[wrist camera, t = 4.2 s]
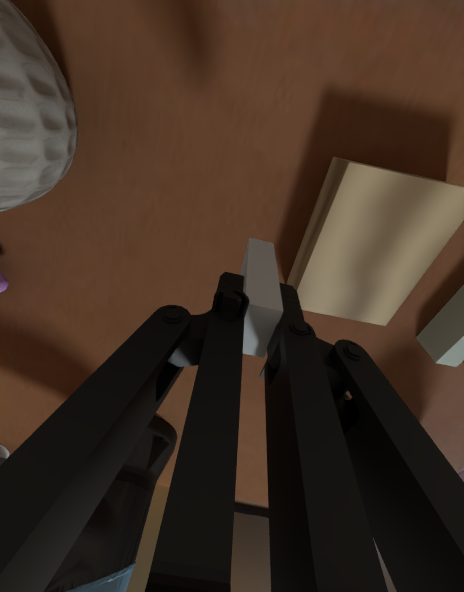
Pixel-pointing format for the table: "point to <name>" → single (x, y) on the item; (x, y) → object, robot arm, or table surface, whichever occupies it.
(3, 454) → the figurine
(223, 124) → the table surface
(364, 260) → the block
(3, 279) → the teapot
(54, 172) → the vase
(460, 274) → the table surface
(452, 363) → the board
